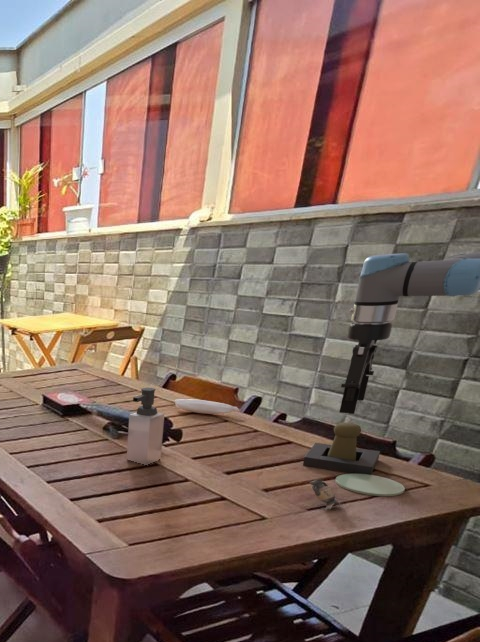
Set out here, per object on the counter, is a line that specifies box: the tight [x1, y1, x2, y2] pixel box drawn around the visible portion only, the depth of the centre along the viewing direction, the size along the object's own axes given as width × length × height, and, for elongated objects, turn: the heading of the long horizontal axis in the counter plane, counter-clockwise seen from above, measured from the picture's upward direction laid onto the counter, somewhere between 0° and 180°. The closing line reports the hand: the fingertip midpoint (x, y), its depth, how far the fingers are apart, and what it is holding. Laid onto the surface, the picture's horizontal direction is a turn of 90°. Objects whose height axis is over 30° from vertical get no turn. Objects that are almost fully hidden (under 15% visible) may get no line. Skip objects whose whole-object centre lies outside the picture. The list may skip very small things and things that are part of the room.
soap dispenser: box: [126, 387, 165, 466], centre depth 143 cm, size 6×9×22 cm
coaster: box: [334, 473, 406, 497], centre depth 118 cm, size 12×12×1 cm
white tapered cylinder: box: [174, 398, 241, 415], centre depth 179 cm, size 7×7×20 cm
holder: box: [302, 442, 381, 475], centre depth 131 cm, size 13×13×2 cm
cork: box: [327, 422, 362, 461], centre depth 129 cm, size 6×6×11 cm
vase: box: [309, 478, 344, 512], centre depth 112 cm, size 5×5×6 cm
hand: (351, 406), depth 126 cm, fingers open, 13 cm apart
